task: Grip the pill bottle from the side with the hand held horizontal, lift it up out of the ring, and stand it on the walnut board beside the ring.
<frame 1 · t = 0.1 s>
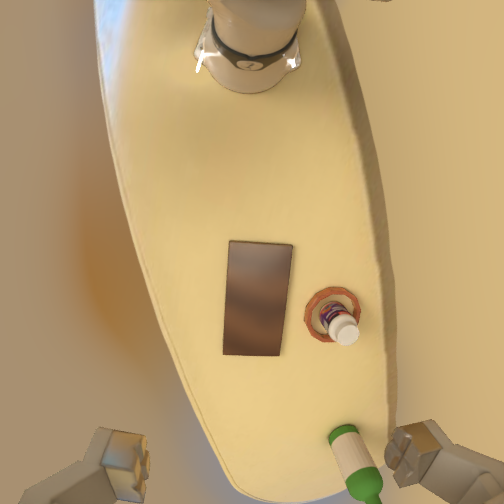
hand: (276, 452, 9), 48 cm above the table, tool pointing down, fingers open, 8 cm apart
pill bottle: (331, 313, 61), resting in ring
board: (255, 301, 58), on the table
wine bottle: (342, 433, 69), on the table
ring: (331, 313, 60), on the table
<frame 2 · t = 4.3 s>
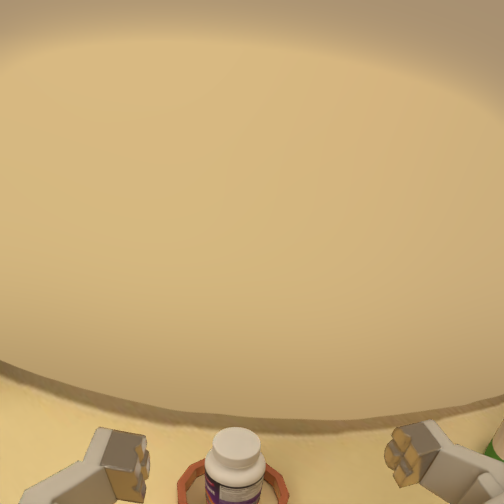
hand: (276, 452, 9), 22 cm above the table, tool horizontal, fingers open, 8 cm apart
pill bottle: (232, 500, 25), resting in ring
wine bottle: (501, 464, 24), on the table
ring: (232, 499, 25), on the table
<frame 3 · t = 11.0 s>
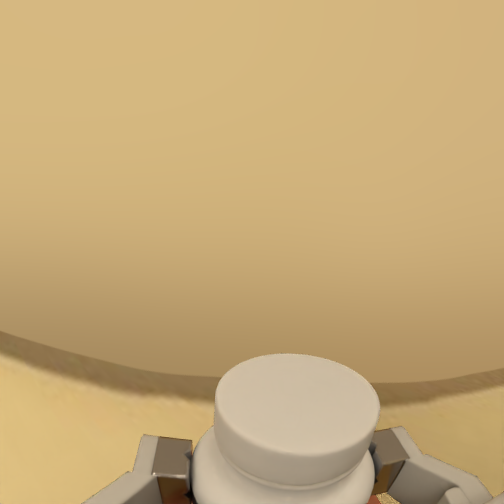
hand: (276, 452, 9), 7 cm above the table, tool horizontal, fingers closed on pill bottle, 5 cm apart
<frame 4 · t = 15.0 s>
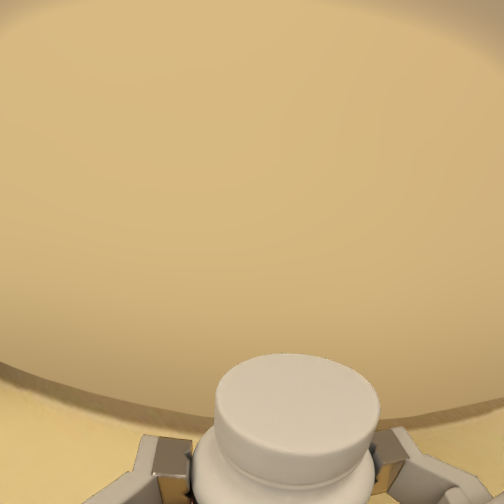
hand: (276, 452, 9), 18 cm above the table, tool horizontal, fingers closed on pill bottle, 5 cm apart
when the fingers open (7 cm above the table, at t = 19.3 s): pill bottle stays where it is, resting on board.
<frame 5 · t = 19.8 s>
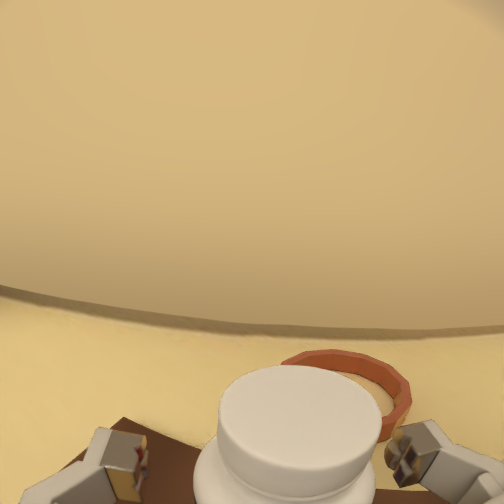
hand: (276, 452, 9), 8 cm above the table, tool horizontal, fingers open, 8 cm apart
ring: (340, 400, 23), on the table
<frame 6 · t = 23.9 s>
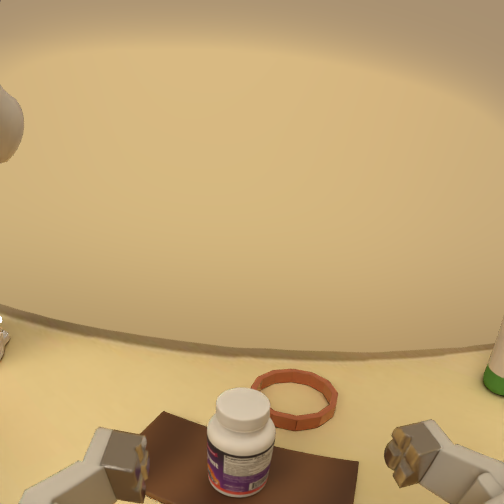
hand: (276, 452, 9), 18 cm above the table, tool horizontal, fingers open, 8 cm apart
pill bottle: (237, 478, 24), point 1 cm above the table, touching board
board: (235, 482, 24), on the table
wine bottle: (499, 387, 36), on the table
ring: (292, 402, 37), on the table
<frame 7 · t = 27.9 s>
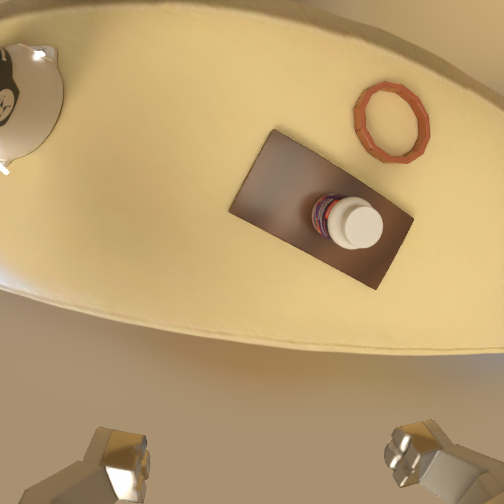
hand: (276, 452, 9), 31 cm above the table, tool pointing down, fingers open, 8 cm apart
pill bottle: (331, 215, 38), point 1 cm above the table, touching board
board: (328, 213, 39), on the table
ring: (390, 123, 37), on the table
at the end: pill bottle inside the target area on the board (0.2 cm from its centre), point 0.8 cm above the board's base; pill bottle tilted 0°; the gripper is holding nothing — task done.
